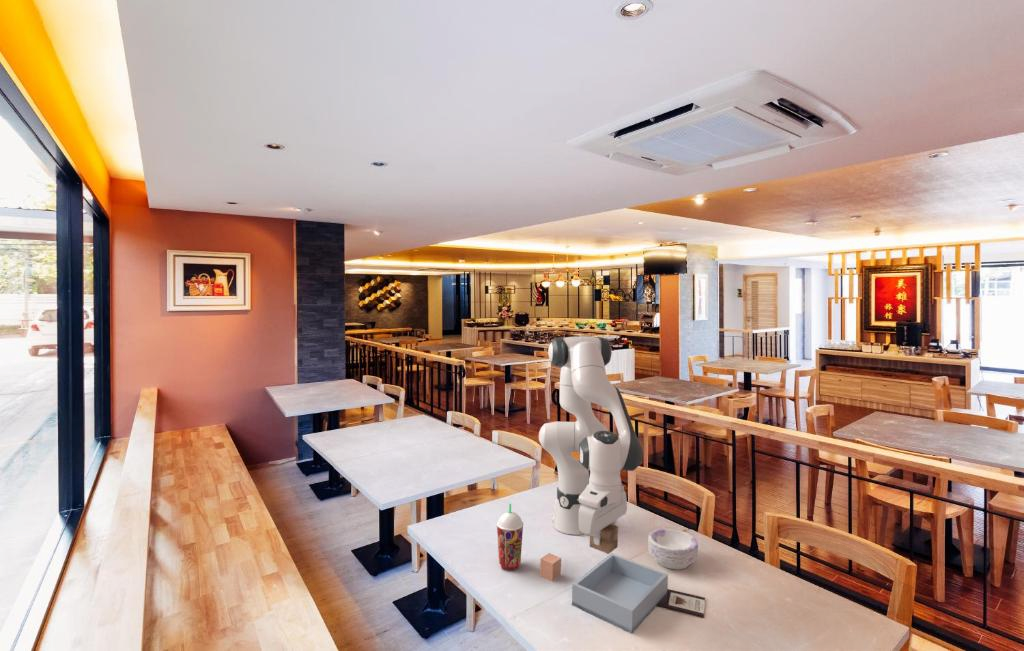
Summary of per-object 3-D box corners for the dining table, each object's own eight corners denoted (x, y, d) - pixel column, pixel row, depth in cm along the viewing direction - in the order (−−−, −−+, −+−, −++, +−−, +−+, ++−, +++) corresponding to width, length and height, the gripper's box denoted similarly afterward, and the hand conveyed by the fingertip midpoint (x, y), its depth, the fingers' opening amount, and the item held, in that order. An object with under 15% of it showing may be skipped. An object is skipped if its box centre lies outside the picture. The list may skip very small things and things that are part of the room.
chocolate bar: (639, 582, 149) (704, 597, 142) (639, 585, 149) (704, 600, 142) (634, 599, 140) (703, 616, 133) (634, 602, 140) (703, 619, 133)
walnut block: (599, 540, 144) (599, 519, 144) (617, 547, 140) (618, 526, 140) (589, 546, 141) (589, 525, 140) (608, 553, 137) (608, 532, 136)
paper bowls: (653, 546, 171) (654, 523, 171) (700, 557, 164) (701, 533, 164) (642, 567, 158) (643, 542, 158) (693, 580, 151) (694, 554, 150)
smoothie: (520, 574, 153) (520, 510, 152) (493, 571, 155) (494, 508, 154) (525, 560, 161) (525, 499, 160) (499, 557, 163) (500, 497, 162)
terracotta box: (548, 570, 156) (549, 553, 156) (560, 575, 153) (561, 558, 153) (540, 576, 153) (540, 558, 152) (552, 581, 150) (552, 563, 149)
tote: (611, 571, 155) (611, 553, 155) (667, 594, 144) (667, 574, 143) (571, 605, 138) (572, 584, 138) (631, 633, 127) (632, 610, 126)
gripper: (613, 478, 149) (612, 523, 150) (574, 498, 134) (574, 549, 135) (632, 483, 145) (631, 530, 146) (595, 505, 130) (594, 557, 131)
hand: (603, 539), depth 140 cm, fingers closed on walnut block, 5 cm apart
